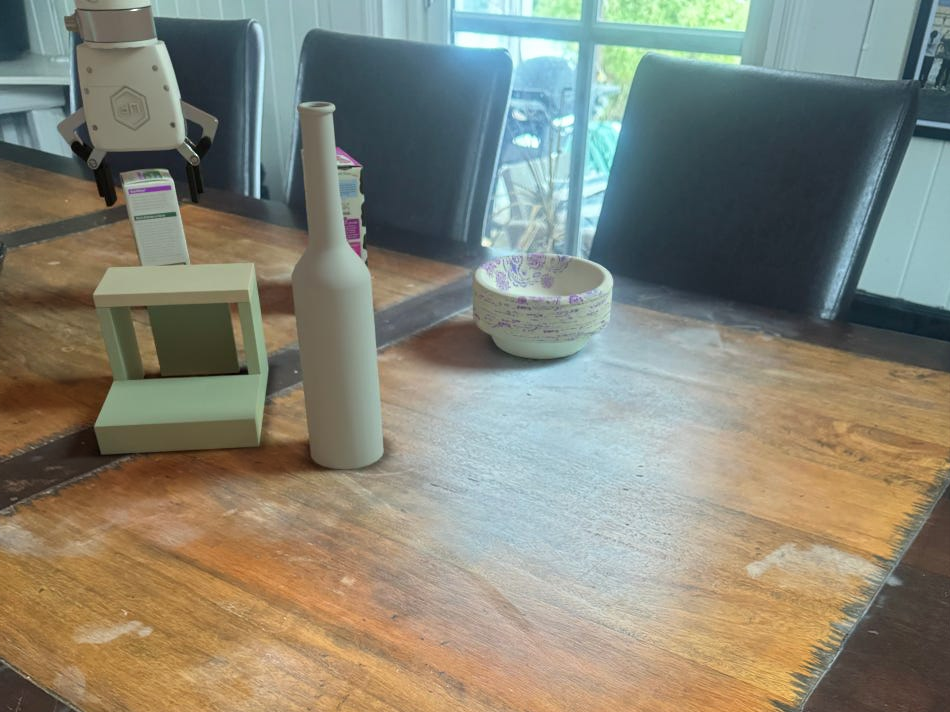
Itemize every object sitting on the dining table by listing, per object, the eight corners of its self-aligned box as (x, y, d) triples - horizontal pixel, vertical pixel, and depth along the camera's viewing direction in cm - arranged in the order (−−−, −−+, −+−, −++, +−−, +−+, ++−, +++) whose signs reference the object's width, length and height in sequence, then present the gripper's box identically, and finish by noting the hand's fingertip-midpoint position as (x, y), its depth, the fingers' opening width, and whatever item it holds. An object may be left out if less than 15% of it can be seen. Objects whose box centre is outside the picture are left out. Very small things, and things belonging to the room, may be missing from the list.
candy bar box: (373, 313, 114) (364, 164, 104) (333, 318, 113) (319, 168, 102) (350, 284, 122) (339, 144, 112) (312, 289, 121) (297, 147, 111)
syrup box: (199, 306, 116) (176, 177, 107) (149, 312, 114) (122, 181, 105) (192, 291, 120) (169, 166, 111) (144, 297, 118) (117, 170, 109)
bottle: (372, 433, 89) (347, 94, 72) (392, 464, 84) (371, 109, 67) (303, 444, 87) (261, 99, 70) (320, 477, 82) (279, 115, 65)
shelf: (101, 457, 85) (68, 335, 78) (133, 376, 99) (108, 267, 92) (259, 448, 86) (240, 328, 79) (269, 370, 100) (253, 262, 93)
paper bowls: (534, 383, 98) (538, 307, 93) (445, 340, 107) (444, 269, 102) (635, 348, 106) (643, 276, 101) (544, 311, 115) (547, 243, 110)
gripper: (24, 34, 95) (71, 214, 106) (198, 30, 97) (227, 207, 108) (41, 25, 101) (84, 196, 112) (205, 21, 103) (232, 191, 113)
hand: (154, 202), depth 110 cm, fingers open, 9 cm apart
